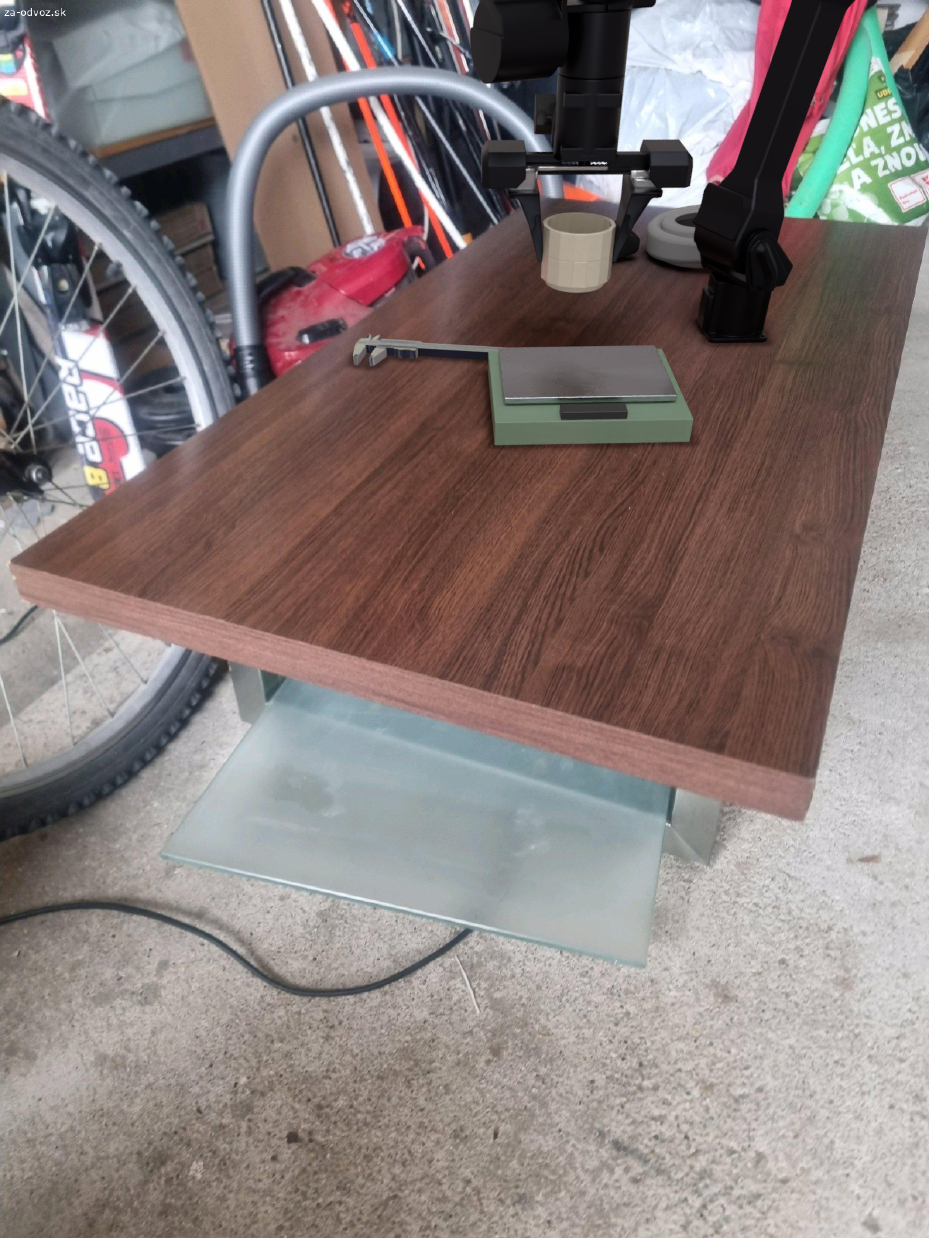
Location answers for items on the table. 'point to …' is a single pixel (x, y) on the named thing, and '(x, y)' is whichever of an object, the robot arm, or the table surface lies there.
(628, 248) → the tape measure
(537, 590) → the table surface
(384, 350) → the caliper
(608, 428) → the scale
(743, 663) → the table surface
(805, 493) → the table surface
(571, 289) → the cup
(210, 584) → the table surface
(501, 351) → the scale pan
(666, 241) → the grey donut ring
